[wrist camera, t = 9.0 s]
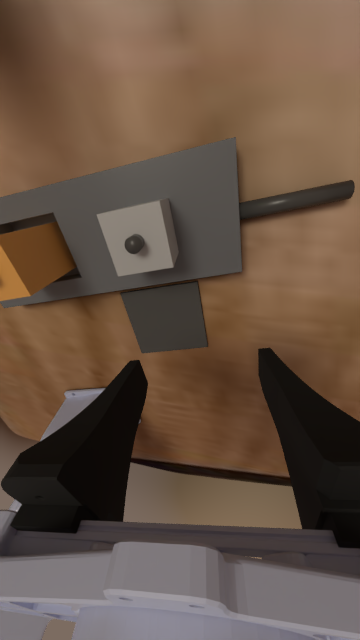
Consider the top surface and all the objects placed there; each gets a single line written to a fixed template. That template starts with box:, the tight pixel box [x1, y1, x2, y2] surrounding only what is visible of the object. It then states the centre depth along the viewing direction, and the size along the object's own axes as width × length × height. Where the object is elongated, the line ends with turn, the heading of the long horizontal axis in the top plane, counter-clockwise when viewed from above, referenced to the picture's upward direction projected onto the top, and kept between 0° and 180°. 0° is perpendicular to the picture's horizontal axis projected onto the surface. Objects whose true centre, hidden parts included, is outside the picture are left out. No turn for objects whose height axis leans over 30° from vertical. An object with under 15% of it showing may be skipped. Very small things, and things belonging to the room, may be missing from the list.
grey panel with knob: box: [0, 137, 355, 308], centre depth 16 cm, size 32×9×7 cm, turn 101°
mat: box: [121, 281, 208, 353], centre depth 24 cm, size 8×8×1 cm
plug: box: [0, 222, 77, 301], centre depth 17 cm, size 4×4×8 cm
